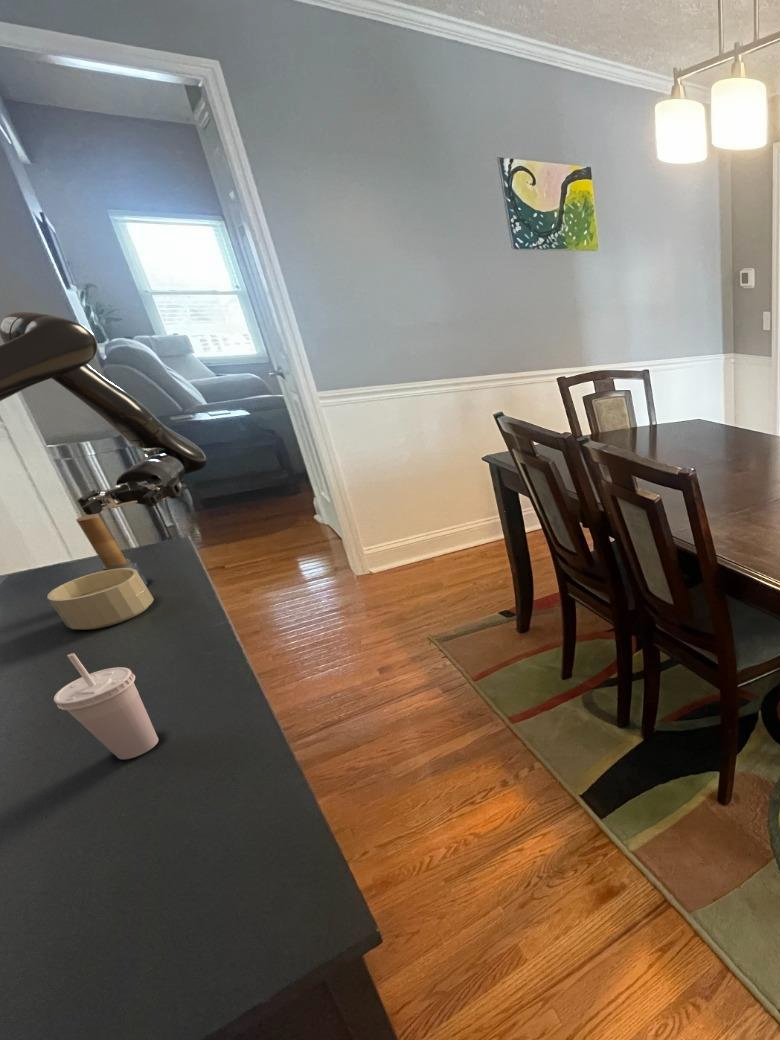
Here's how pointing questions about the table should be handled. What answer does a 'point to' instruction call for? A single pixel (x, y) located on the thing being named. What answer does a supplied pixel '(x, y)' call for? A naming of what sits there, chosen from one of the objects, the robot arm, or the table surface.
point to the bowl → (101, 599)
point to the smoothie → (109, 709)
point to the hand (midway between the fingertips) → (119, 506)
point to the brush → (105, 544)
